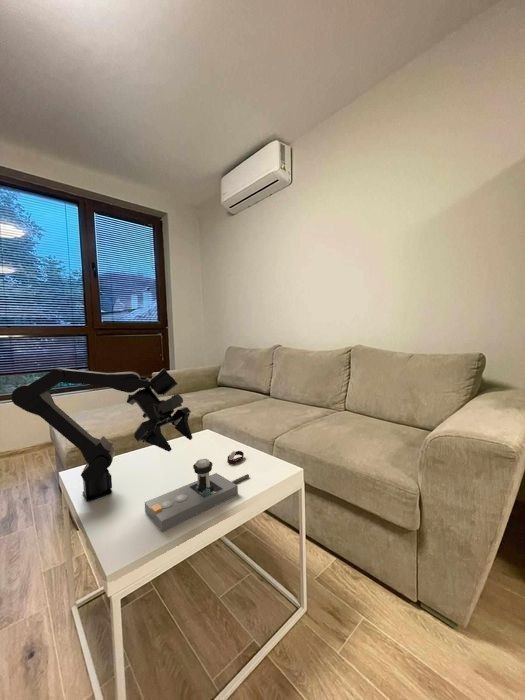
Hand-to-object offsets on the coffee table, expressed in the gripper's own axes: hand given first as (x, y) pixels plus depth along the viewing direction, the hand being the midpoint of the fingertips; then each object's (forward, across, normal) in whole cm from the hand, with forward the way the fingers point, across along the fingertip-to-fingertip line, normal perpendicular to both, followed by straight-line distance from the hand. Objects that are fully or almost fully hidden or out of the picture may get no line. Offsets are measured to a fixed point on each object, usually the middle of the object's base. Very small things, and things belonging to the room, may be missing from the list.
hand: (181, 444), depth 83 cm
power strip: (+16, 0, +4) cm, 16 cm away
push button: (+16, -1, +4) cm, 16 cm away
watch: (+13, +23, +7) cm, 27 cm away
